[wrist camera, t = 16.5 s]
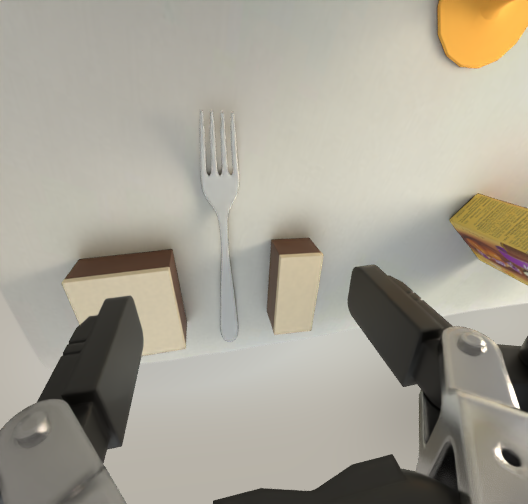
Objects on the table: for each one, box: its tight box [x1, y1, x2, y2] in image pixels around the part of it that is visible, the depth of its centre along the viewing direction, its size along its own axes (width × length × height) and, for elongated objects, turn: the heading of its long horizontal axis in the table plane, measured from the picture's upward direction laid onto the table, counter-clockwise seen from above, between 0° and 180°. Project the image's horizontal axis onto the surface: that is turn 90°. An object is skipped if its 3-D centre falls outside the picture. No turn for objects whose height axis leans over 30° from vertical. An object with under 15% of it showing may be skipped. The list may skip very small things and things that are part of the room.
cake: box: [62, 249, 187, 356], centre depth 26 cm, size 8×9×4 cm
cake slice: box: [267, 238, 324, 335], centre depth 29 cm, size 4×9×4 cm, turn 177°
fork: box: [200, 110, 239, 342], centre depth 27 cm, size 3×24×2 cm, turn 179°
